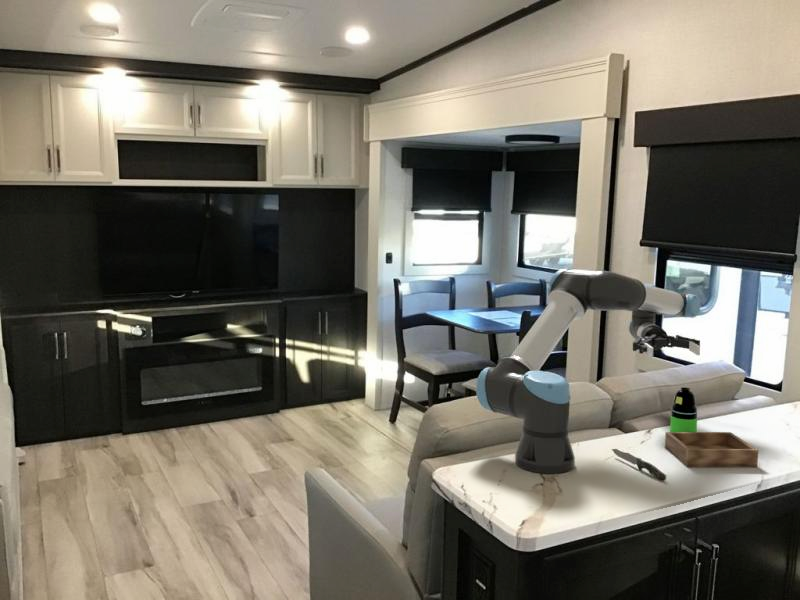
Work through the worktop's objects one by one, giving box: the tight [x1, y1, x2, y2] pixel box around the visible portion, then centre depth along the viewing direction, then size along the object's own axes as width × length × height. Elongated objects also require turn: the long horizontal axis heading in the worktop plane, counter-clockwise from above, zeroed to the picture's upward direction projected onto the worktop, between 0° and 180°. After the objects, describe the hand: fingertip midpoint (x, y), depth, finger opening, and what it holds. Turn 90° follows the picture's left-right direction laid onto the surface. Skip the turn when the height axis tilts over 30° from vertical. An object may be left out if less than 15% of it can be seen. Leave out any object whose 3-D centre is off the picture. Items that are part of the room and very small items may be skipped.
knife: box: [611, 448, 667, 481], centre depth 177 cm, size 20×1×3 cm, turn 21°
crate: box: [664, 431, 759, 468], centre depth 185 cm, size 18×15×4 cm
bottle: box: [669, 386, 698, 432], centre depth 199 cm, size 7×7×15 cm
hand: (675, 351), depth 205 cm, fingers open, 13 cm apart
